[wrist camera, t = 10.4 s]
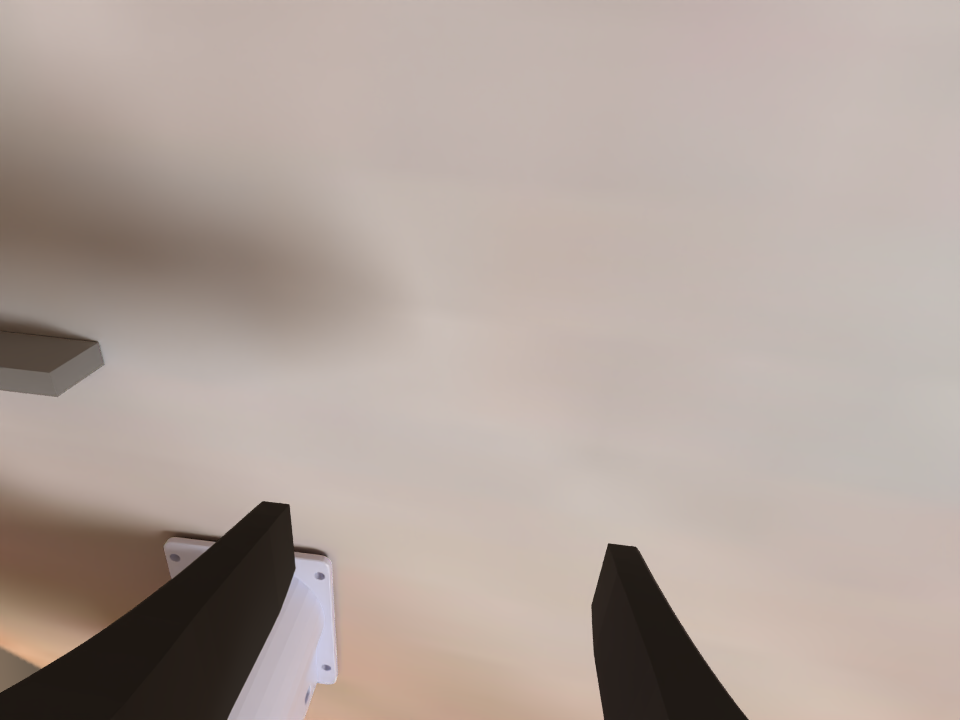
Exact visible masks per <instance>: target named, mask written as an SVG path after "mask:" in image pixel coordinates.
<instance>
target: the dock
mask: <svg viewBox="0 0 960 720" xmlns="http://www.w3.org/2000/svg"><path fill="white" fill-rule="evenodd" d="M103 365H104V362H103V358H102V354H101V350H100V346H99V343H98V342H91V341H82V340H73V339H65V338H56V337H47V336H38V335H30V334H21V333H12V332H4V331H0V390H3V391H11V392H20V393H28V394H37V395H45V396H54V397H58V396H59V395H61V394H62V393H64V392H65V391H67V390H68V389H70V388H71V387H72V386H74V385H75V384H77V383H78V382H80V381H81V380H83V379H84V378H86V377H87V376H88V375H90V374H91V373H93V372H94V371H96V370H97V369H99V368H100V367H102V366H103Z"/></svg>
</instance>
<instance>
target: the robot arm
mask: <svg viewBox="0 0 960 720" xmlns="http://www.w3.org/2000/svg"><path fill="white" fill-rule="evenodd" d="M164 552H165V556H166V560H167V564H168V568H169V572H170V576H171V580H170V581H169V582H167V583H166V584H165V585H163V586H162V587H161V588H160V589H158V590H157V591H156V592H154V593H153V594H152V595H151V596H149V597H148V598H147V599H145V600H144V601H143V602H141V603H140V604H139V605H137V606H136V607H135V608H133V609H132V610H131V611H129V612H128V613H126V614H125V615H124V616H122V617H121V618H120V619H118V620H117V621H115V622H114V623H112V624H111V625H110V626H108V627H107V628H105V629H104V630H102V631H101V632H99V633H98V634H96V635H95V636H93V637H92V638H90V639H89V640H87V641H86V642H84V643H83V644H81V645H80V646H78V647H76V648H75V649H73V650H72V651H70V652H68V653H67V654H65V655H64V656H62V657H60V658H59V659H57V660H55V661H54V662H52V663H50V664H49V665H47V666H45V667H44V668H42V669H40V670H39V671H37V672H35V673H34V674H32V675H31V676H29V677H27V678H26V679H24V680H22V681H20V682H19V683H17V684H15V685H13V686H12V687H10V688H8V689H6V690H4V691H3V692H1V693H0V720H304V718H305V716H306V713H307V710H308V707H309V704H310V701H311V698H312V695H313V692H314V690H315V687H316V684H317V683H322V684H333V683H335V682H336V679H337V676H338V665H337V647H336V629H335V611H334V593H333V575H332V563H331V561H330V559H329V558H327V557H326V556H323V555H316V554H308V553H300V552H294V545H293V535H292V525H291V515H290V505H289V504H282V503H273V502H265V501H263V502H261V503H260V504H259V505H258V506H256V507H255V508H254V509H253V510H252V511H251V512H250V513H248V514H247V515H246V516H245V517H244V518H243V519H242V520H241V521H239V522H238V523H237V524H236V525H235V526H234V527H233V528H232V529H230V530H229V531H228V532H227V533H226V534H225V535H224V536H222V537H221V538H220V539H219V540H218V541H217V542H212V541H204V540H196V539H188V538H180V537H171V538H169V539H168V540H167V541H166V543H165V544H164ZM320 572H321V573H320ZM592 629H593V647H594V657H595V664H596V671H597V677H598V683H599V690H600V696H601V702H602V708H603V714H604V720H748V718H747V717H746V716H745V715H744V713H743V712H742V711H741V710H740V708H739V707H738V706H737V704H736V703H735V702H734V700H733V699H732V698H731V696H730V695H729V694H728V692H727V691H726V690H725V688H724V687H723V685H722V684H721V683H720V681H719V680H718V678H717V677H716V676H715V674H714V673H713V671H712V670H711V668H710V667H709V666H708V664H707V663H706V661H705V660H704V658H703V657H702V655H701V654H700V652H699V651H698V649H697V648H696V646H695V645H694V643H693V642H692V640H691V639H690V637H689V635H688V634H687V632H686V631H685V629H684V628H683V626H682V624H681V623H680V621H679V620H678V618H677V617H676V615H675V613H674V612H673V610H672V608H671V607H670V605H669V603H668V602H667V600H666V598H665V596H664V595H663V593H662V591H661V590H660V588H659V586H658V584H657V583H656V581H655V579H654V577H653V575H652V574H651V572H650V570H649V568H648V566H647V564H646V563H645V561H644V559H643V557H642V555H641V553H640V551H639V550H638V549H637V548H636V547H633V546H625V545H617V544H609V543H608V546H607V550H606V554H605V557H604V561H603V565H602V568H601V572H600V576H599V580H598V583H597V587H596V591H595V594H594V598H593V602H592Z"/></svg>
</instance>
